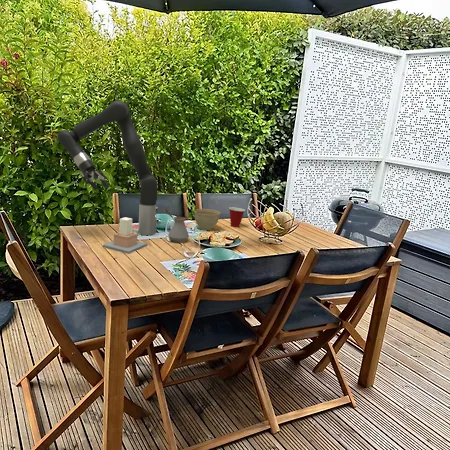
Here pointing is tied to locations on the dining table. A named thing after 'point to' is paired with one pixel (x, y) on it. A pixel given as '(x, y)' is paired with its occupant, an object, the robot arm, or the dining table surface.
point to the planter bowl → (206, 218)
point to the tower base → (126, 250)
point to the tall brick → (125, 226)
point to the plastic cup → (236, 216)
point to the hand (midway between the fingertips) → (101, 188)
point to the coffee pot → (178, 229)
